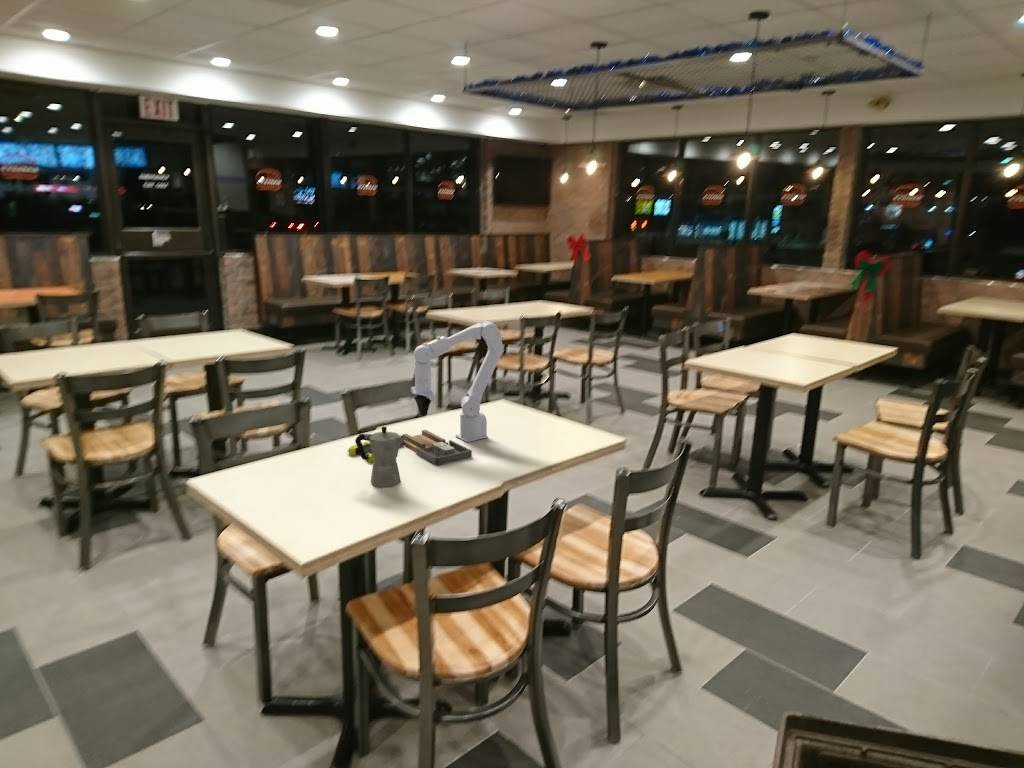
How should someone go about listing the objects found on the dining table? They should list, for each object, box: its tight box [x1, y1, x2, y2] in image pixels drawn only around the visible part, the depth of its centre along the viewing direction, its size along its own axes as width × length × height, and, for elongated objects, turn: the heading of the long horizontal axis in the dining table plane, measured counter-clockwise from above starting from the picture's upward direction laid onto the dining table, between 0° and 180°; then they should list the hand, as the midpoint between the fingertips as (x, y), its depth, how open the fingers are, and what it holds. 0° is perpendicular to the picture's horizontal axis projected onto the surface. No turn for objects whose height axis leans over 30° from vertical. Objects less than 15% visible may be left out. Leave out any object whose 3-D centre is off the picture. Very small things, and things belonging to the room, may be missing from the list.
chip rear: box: [432, 442, 447, 455], centre depth 230 cm, size 4×4×3 cm
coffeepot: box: [354, 426, 406, 489], centre depth 203 cm, size 15×9×18 cm, turn 90°
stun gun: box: [347, 440, 404, 464], centre depth 231 cm, size 3×19×15 cm
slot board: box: [402, 429, 449, 453], centre depth 239 cm, size 12×14×3 cm
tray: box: [415, 439, 473, 466], centre depth 229 cm, size 14×13×2 cm
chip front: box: [439, 444, 455, 457], centre depth 227 cm, size 4×4×3 cm
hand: (423, 415), depth 243 cm, fingers closed
